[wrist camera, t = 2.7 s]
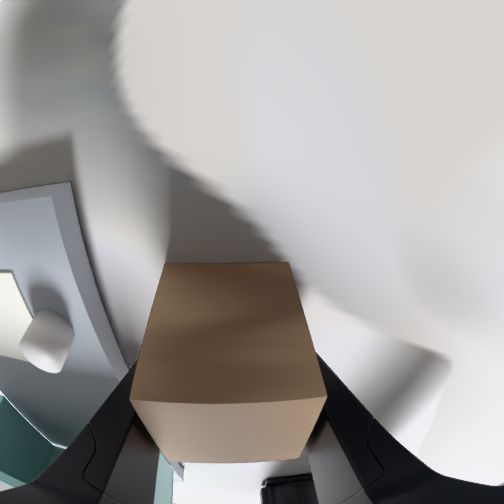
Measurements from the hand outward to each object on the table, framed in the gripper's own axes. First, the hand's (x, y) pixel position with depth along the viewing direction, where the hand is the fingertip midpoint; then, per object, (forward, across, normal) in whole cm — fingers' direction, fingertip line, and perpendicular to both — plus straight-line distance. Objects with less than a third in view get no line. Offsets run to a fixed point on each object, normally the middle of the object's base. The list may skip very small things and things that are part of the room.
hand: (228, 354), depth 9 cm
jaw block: (+2, 0, 0) cm, 2 cm away
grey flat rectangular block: (+2, +10, +8) cm, 13 cm away
